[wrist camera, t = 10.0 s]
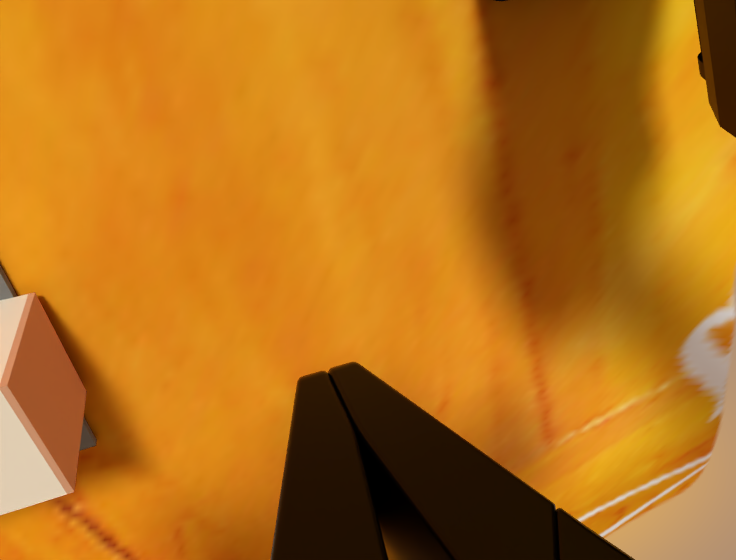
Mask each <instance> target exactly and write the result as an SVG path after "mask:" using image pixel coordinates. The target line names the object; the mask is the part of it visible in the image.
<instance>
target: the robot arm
mask: <svg viewBox="0 0 736 560" xmlns="http://www.w3.org/2000/svg"><path fill="white" fill-rule="evenodd" d="M495 1H506V0H495ZM694 6H695V13H696V20H697V27H698V34H699V41H700V48H701V53H700V54H699V55H698V64H699V71H700V75H701V77H703V78H704V79H705V80H706V85H707V92H708V99H709V104H710V106H711V108H712V110H713V112H714V115H715V117H716V119H717V121H718V123H719V125H720V127H722V128H723V129H724V130H726V131H727V132H729V133H730V134H732V135H733V136H734V137H736V0H694ZM271 560H635V559H633V558H632V557H630V556H629V555H627V554H626V553H625V552H623V551H622V550H620V549H619V548H617V547H616V546H614V545H613V544H611V543H610V542H608V541H607V540H605V539H604V538H603V537H601V536H600V535H598V534H597V533H595V532H594V531H592V530H591V529H589V528H588V527H586V526H585V525H584V524H582V523H581V522H579V521H578V520H577V519H575V518H574V517H573V516H571V515H570V514H568V513H567V512H566V511H564V510H563V509H561V508H558V509H557V510H556V508H555V504H554V503H553V502H551V501H550V500H549V499H547V498H546V497H544V496H543V495H542V494H540V493H539V492H537V491H536V490H535V489H533V488H532V487H530V486H529V485H528V484H526V483H525V482H523V481H522V480H521V479H519V478H518V477H516V476H515V475H514V474H512V473H511V472H509V471H508V470H507V469H505V468H504V467H502V466H501V465H500V464H498V463H497V462H495V461H494V460H493V459H491V458H490V457H488V456H487V455H486V454H484V453H483V452H481V451H480V450H479V449H477V448H476V447H474V446H473V445H472V444H470V443H469V442H467V441H466V440H465V439H463V438H462V437H460V436H459V435H458V434H456V433H455V432H454V431H452V430H451V429H449V428H448V427H447V426H445V425H444V424H442V423H441V422H440V421H438V420H437V419H435V418H434V417H433V416H431V415H430V414H428V413H427V412H426V411H424V410H423V409H421V408H420V407H419V406H417V405H416V404H414V403H413V402H412V401H410V400H409V399H407V398H406V397H405V396H403V395H402V394H400V393H399V392H398V391H396V390H395V389H393V388H392V387H391V386H389V385H388V384H386V383H385V382H384V381H382V380H381V379H379V378H378V377H377V376H375V375H374V374H372V373H371V372H370V371H368V370H367V369H365V368H364V367H363V366H361V365H360V364H358V363H356V362H350V363H346V364H343V365H340V366H336V367H333V368H331V369H330V370H329V371H328V373H327V372H326V371H319V372H316V373H313V374H309V375H306V376H303V377H300V378H299V380H298V382H297V387H296V394H295V401H294V407H293V414H292V421H291V427H290V434H289V440H288V447H287V454H286V460H285V467H284V474H283V480H282V487H281V494H280V500H279V507H278V513H277V520H276V527H275V533H274V540H273V547H272V553H271Z"/></svg>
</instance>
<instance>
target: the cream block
mask: <svg viewBox="0 0 736 560" xmlns="http://www.w3.org/2000/svg"><path fill="white" fill-rule="evenodd" d="M86 393H87V391H86V389H85V387H84V386H83V384H82V382H81V380H80V378H79V376H78V374H77V372H76V370H75V368H74V366H73V364H72V362H71V361H70V359H69V357H68V355H67V353H66V351H65V349H64V347H63V345H62V343H61V341H60V339H59V338H58V336H57V334H56V332H55V330H54V328H53V326H52V324H51V322H50V320H49V318H48V316H47V314H46V313H45V311H44V309H43V307H42V305H41V303H40V301H39V299H38V297H37V295H36V293H30V294H26V295H22V296H17V297H13V298H9V299H4V300H0V515H3V514H6V513H9V512H12V511H15V510H19V509H22V508H25V507H28V506H31V505H34V504H38V503H41V502H44V501H47V500H50V499H54V498H57V497H60V496H63V495H66V494H69V493H73V492H74V490H75V482H76V474H77V466H78V458H79V449H80V441H81V433H82V425H83V417H84V409H85V401H86Z"/></svg>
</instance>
